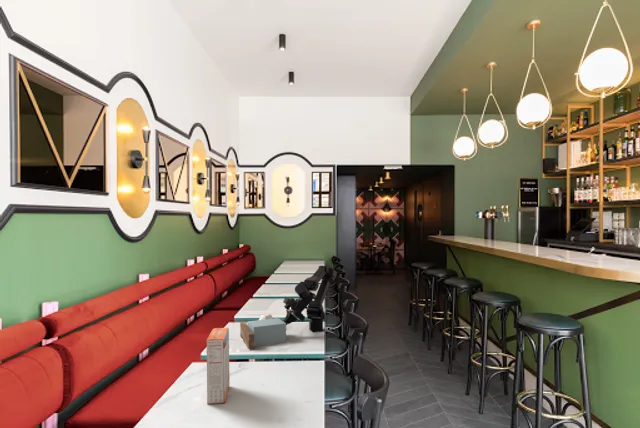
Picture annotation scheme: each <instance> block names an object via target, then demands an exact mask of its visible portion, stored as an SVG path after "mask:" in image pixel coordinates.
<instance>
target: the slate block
mask: <svg viewBox="0 0 640 428" xmlns="http://www.w3.org/2000/svg"><path fill="white" fill-rule="evenodd" d="M283 321H284V320H282V319H280V318H279V317H277V318H276V317H275V318H273V319H265V320H259V319H257V320H250V321H249V320H248V321H247V325H248V326H249V328H250V329H251V330H252V332H253V333H254V347H257V346H258V345H259V346H266V345H272V344H279V343H280V342H281V343H286V342H287V325H286V323H285V322H283ZM259 346H258V347H259Z"/></svg>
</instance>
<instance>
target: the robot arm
mask: <svg viewBox="0 0 640 428" xmlns="http://www.w3.org/2000/svg"><path fill="white" fill-rule="evenodd" d="M336 278H337V271H336V270H335V269H334V268H331V267H329V266H327V265H319V266H318V269H316V271H315V272H314V273H313V274H312V275H311V276H309V277H307V278H305V279H304V280H303V281H300V282H299V284H296V286H295V287H294V292H295V294H297V296H299V298H294V297H287V296H285V297H284V299H283V301H282V303H283V304H284V306H283V307H284V309H285V310H286V315H285V317H284V320H282V321H283V322H285V323H286V326H288V325H290V324H291V323H294V322H296V321H300V322H304V321H305V320H306V318H307V319H308V320H309V322H308V327H309V328H308V330H309V329H310V330H309V331H311V332H312V333H316V332H317V331H319V332H324V331H325V329H324V322H323V321H324V320H326V316H327V315H326V312H325V311H324V306H323V303H324V301H325V297H326V295H327V292H328V289H329V287H330V284H332V283H333V282H335V279H336ZM314 292H316V294H315V293H314ZM305 309H306V316H307V317H306V316H305V314H303V311H304V310H305ZM317 333H318V332H317Z"/></svg>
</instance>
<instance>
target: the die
mask: <svg viewBox="0 0 640 428" xmlns="http://www.w3.org/2000/svg"><path fill="white" fill-rule="evenodd" d="M265 319H274V318H273V316H272V314H267V313H266V314H261V315H260V317H259V319H258V320H265Z"/></svg>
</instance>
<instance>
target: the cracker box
mask: <svg viewBox="0 0 640 428" xmlns="http://www.w3.org/2000/svg"><path fill="white" fill-rule="evenodd" d="M229 331H230V329H229V327H215V328H212V330H211V332H210V333H209V335H208V337H207V339H206V342H205V344H206V394H207V395H206V396H207V398H206V400H207V405H215V404H225V402H226V400H227V395H228V392H229V389H230V332H229Z"/></svg>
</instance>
